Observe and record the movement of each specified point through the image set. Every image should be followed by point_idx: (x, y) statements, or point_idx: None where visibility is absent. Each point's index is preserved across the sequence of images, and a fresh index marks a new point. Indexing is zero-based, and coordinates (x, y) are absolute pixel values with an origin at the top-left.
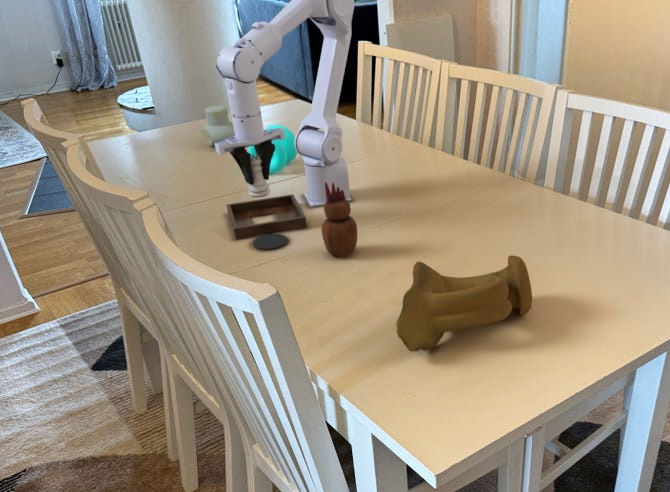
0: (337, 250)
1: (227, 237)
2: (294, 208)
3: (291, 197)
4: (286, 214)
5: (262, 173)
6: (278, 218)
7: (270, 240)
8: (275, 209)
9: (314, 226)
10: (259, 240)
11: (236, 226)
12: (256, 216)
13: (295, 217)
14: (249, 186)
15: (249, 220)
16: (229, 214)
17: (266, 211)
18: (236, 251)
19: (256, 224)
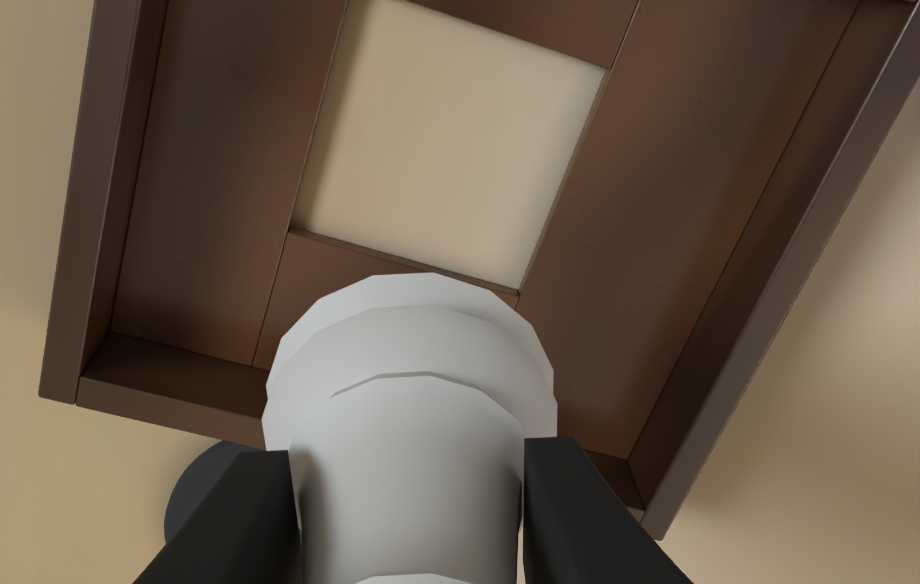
0: None
1: (19, 255)
2: (789, 162)
3: (889, 57)
4: (665, 192)
5: (534, 547)
6: (558, 228)
7: (301, 537)
8: (659, 4)
9: (696, 487)
10: None
11: (76, 364)
12: (426, 4)
13: (682, 302)
14: (280, 435)
15: (312, 87)
16: (89, 38)
17: None
18: (28, 508)
19: (257, 432)
